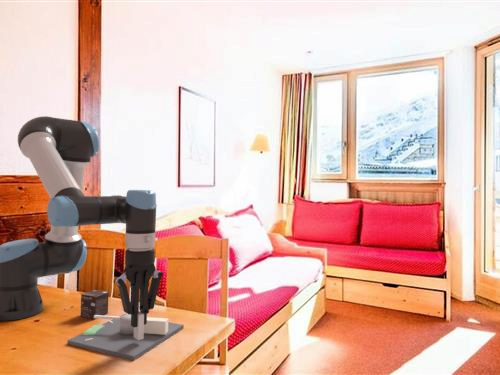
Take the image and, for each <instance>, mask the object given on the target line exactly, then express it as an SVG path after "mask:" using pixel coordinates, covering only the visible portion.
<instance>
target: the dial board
mask: <svg viewBox="0 0 500 375" xmlns="http://www.w3.org/2000/svg"><path fill="white" fill-rule="evenodd" d="M126 314H127V313H124V314H121V315H119V317H121V316H122V315H126ZM184 328H185V327H184V324H180V323H176V322H169V321H168V332H167V333H166V334H165V335H163V334H148V333H144V339H141V340H137V339H136V338H134V334H129V335H124V334H121V333H120V320H118V319H109V320H108V321H107V322H104V323H101V324H95V325H92V326H90V327H89V328H88V329H86V330H85V331H84V332H82V333H80V334H78V335H76V336H74V337H71V338H69V339H67V345H71V346H75V347H77V348H78V347H79V348H82V349H87V350H91V351H94V352H99V353H102V354H103V353H104V354H106V355H111V356H114V357H119V358H123V359H127V360H130V361H131V360H132V361H136V360H137V359H138V358H140V357H141V356H143V355H145V354H146V353H148V352H150V351H151V350H152V349H154V348H156V347H157V346H158V345H160V344H162V343H163V342H165V341H166V340H169V338H171V337H172V336H174V335H176V334H177V333H179V332H180V331H182V330H183V329H184Z"/></svg>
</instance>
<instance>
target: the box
mask: <svg viewBox="0 0 500 375" xmlns="http://www.w3.org/2000/svg"><path fill="white" fill-rule="evenodd" d="M108 313H109V291H104V290H99V289H93V290H90V291H87V292H84V293H81V294H80V317H82V318H85V319H90V320H96V319H98V318H94V315H103V316H107V315H108Z"/></svg>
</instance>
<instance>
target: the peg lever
mask: <svg viewBox="0 0 500 375" xmlns="http://www.w3.org/2000/svg"><path fill="white" fill-rule="evenodd" d="M125 314H126V315H124V314H121V315H122V316H121V315H119V316H121V317H119V316H117V315H104V316H103V315H94V318H97V319H104V320H107V319H108V320H113V319H118V320H120V333H121V334H124V335H129V334H134V327H132V326H131V314H130V315H129V314H127V313H125ZM168 322H169V318H166V317H152V316H151V317H149V316H147V323H146V324H145V325H144V333H148V334H163V335H165V334H166V333H167V332H168Z"/></svg>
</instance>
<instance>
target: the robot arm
mask: <svg viewBox="0 0 500 375" xmlns="http://www.w3.org/2000/svg"><path fill="white" fill-rule="evenodd" d="M17 144H18V145H17V146H18V147H19V149H20V152H21V154H22V155H23V156H24V157H26V158H28V159H29V161H30V162H31V164H32V167H33V169H34V170H35V172H36V174H37V176H38V178H39V180H40V182H41V184H42V185H43V188H44V190H45V191H46V193H47V195H48V197H49V198H50V199H49V200H48V202H47V208H46V214H47V219H48V222H49V224H50V231H48V233H46V234H45V235H44V240H43V241H42V242H39V240H38V239H37V238H24V239H18V240H12V241H8V242H5V243H3V244H0V322H3V321H4V322H5V321H8V322H9V321H16V320H22V319H26V318H30V317H33V316H36V315H39V314H40V313H42V312H43V311H44V301H43V299H42V298H43V297H42V296H41V295H42V294H41V293H40V290H39V287H38V280H39V278H43V277H51V276H56V275H62V274H69V273H73V272H77V271H79V270H80V269H82V267H83V266H84V264H86V261H87V260H86V259H87V255H88V249H87V243H86V241H85V240H84V239H82V238H83V236H82V235H81V234H80V233H79V232H78V231H79V227H81V226H82V227H83V226H92V225H108V224H110V225H111V224H125V245H124V246H125V248H126V249H125V251H124V254H125V255H124V258H125V259H124V264H125V266H124V270H123V271H122V272H123V273H122V274H121V275H120V276H119V277H118V276H117V277H114V282H115V283H116V285H117V287H118V292H119V296H120V299H121V305H122V310H123V312H124V313H125V314H129V315H130V314H131V326H132V327H134V338H136V339H137V340H141V339H144V325H145V324H146V323H147V317H148V314H149V313H150V310H153V309H154V308H155V306H156V305H155V304H156V300H157V295H158V291H159V287H160V282H161V280H162V278H163V276H164V272H161V271H160V270H157V268H156V266H155V261H156V249H155V246H156V220H157V206H158V205H157V197H156V196H157V195H156V192H155V191H154V190H150V189H148V190H147V189H129V190H128V191H126V196H125V195H124V196H123V195H120V194H118V195H110V196H109V195H107V196H106V195H105V196H104V195H102V196H101V195H99V196H95V195H94V196H90V195H89V196H87V195H85V194H84V193H83V186H84V177H85V169H86V168H85V167H86V166H87V165H89V164H90V163H91V158H93V157H95V156H97V155H98V152H99V149H100V137H99V133H98V131H97V129H96V127H95V125H93V124H92V123H90V122H85V121H81V120H74V119H66V118H59V117H58V118H57V117H53V116H45V115H44V116H38V117H34V118H32V119H29V120H28V121H27V122H25V123H24V124H23V125H22V126H21V128H20V129H19V132H18V135H17ZM127 280H128V282H129V287H130V295H129V290H128V287H127ZM150 280H151V281H150Z"/></svg>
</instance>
